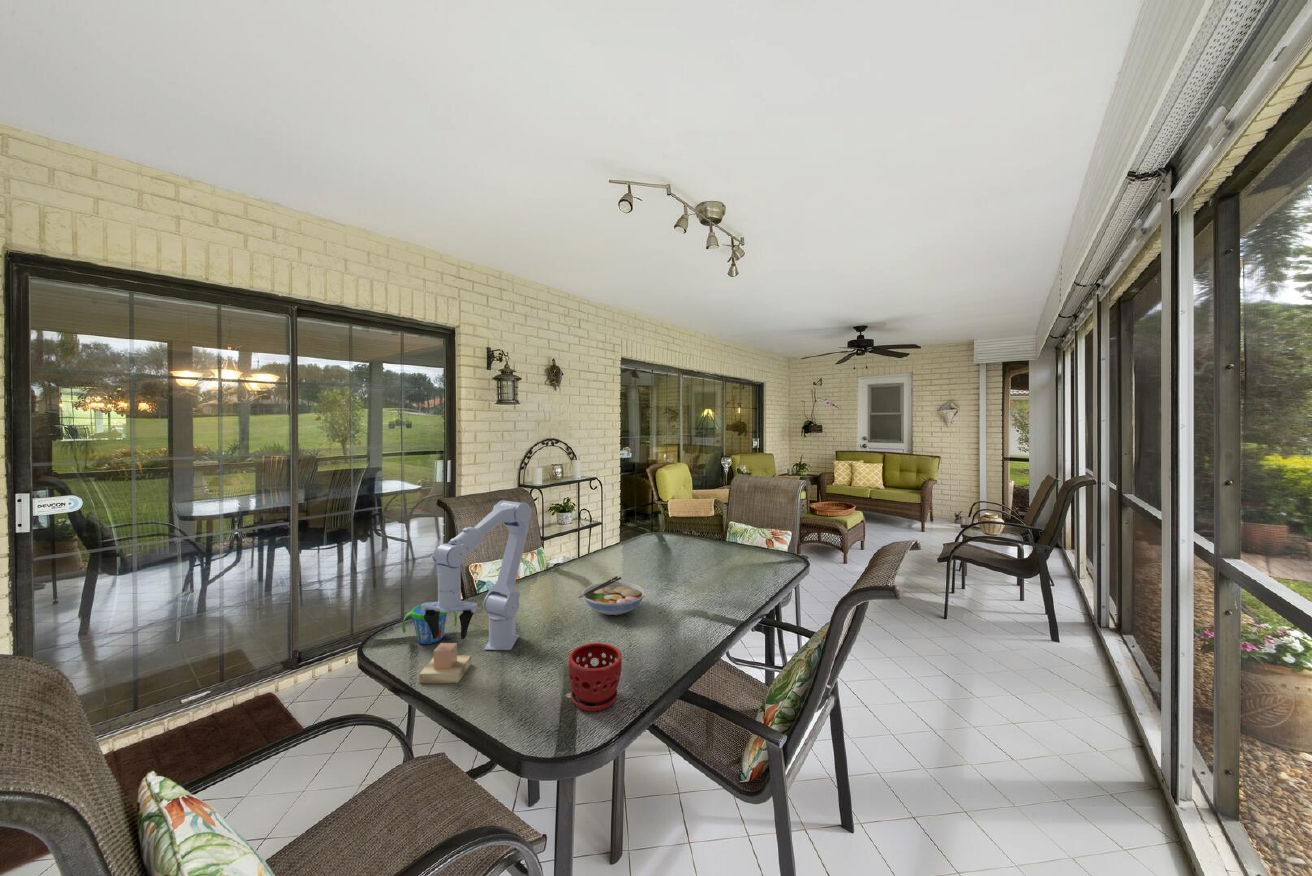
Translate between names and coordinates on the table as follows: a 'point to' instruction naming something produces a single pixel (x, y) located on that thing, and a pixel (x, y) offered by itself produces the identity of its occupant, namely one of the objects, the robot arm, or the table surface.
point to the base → (445, 671)
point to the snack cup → (426, 625)
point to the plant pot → (594, 676)
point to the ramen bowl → (613, 596)
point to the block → (445, 656)
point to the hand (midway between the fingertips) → (449, 637)
